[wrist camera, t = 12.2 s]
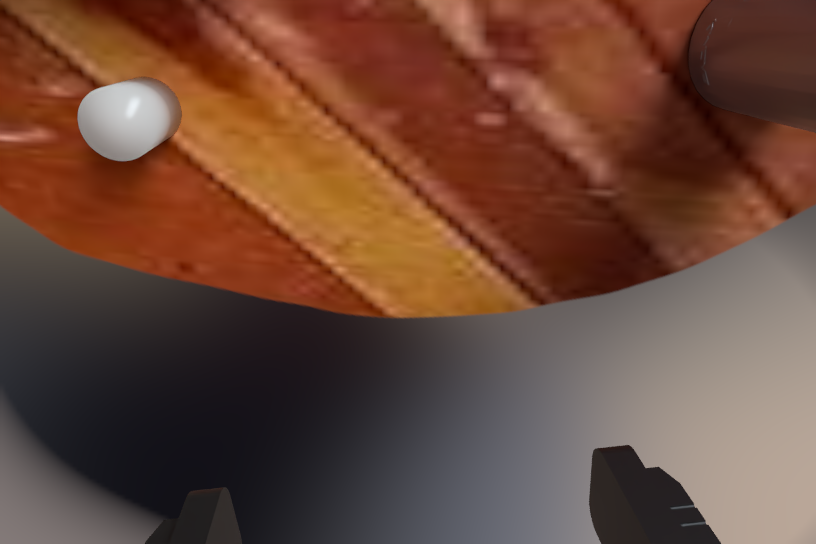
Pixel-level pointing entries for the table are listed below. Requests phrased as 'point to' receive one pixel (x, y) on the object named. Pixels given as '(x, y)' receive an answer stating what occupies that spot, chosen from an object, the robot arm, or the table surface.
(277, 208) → the table surface
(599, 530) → the robot arm
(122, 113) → the white rounded capsule
